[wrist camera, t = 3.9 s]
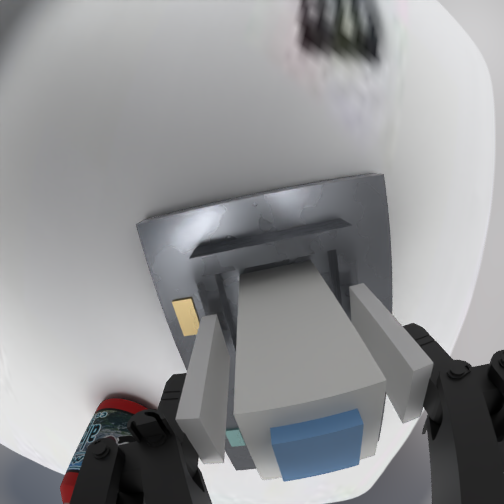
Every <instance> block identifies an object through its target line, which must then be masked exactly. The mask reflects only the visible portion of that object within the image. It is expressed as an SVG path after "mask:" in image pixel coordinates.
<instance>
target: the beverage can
mask: <svg viewBox="0 0 504 504" xmlns="http://www.w3.org/2000/svg"><path fill="white" fill-rule="evenodd" d="M146 409H148V408H146V407H144V406H142V405H140V404H138V403H136V402H133V401H129V400H125V399H118V398H112V399H107V400H105V401H103V402H102V403H100V405H99V407H98V408H97V410H96V412H95V414H94V416H93V418H92V420H91V422H90V423H89V425H88V427H87V429H86V431H85V433H84V435H83V437H82V439H81V441H80V443H79V446H78V448H77V450H76V452H75V454H74V456H73V458H72V460H71V463H70V465H69V467H68V469H67V472H66V474H65V476H64V479H63V481H62V483H61V486H60V491H61V496H62V501H63V504H69V503H70V500H71V496H72V493H73V490H74V486H75V483H76V480H77V477H78V474H79V471H80V467H81V464H82V461H83V459H84V456H85V453H86V450H87V448H88V446H89V445H90V444H91V443H92V442H93V441H95V440H97V439H99V438H110V439H112V440H114V441H115V442H116V443H117V444H118V445H122V444H126V443H131V442H135V441H136V440H135V438H134V437H133V436H132V434H131V433H130V432H129V430H128V429H127V423H128V421H129V420H130V418H131V417H132V416H133V415H135V414H136V413H137V412H140V411H142V410H146Z"/></svg>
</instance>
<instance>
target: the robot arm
mask: <svg viewBox="0 0 504 504" xmlns="http://www.w3.org/2000/svg"><path fill="white" fill-rule="evenodd" d="M349 291H350V306H351V323H352V324H353V326H354V327H355V329H356V331H357V332H358V334H359V335H360V337H361V339H362V340H363V342H364V343H365V345H366V347H367V348H368V350H369V352H370V353H371V355H372V357H373V358H374V360H375V362H376V363H377V365H378V367H379V368H380V370H381V372H382V373H383V375H384V377H385V378H386V390H385V392H386V394H387V395H388V397H389V399H390V401H391V403H392V405H393V406H394V408H395V410H396V412H397V414H398V416H399V418H400V419H401V421H402V423H406V422H408V421H411V420H413V419H415V418H418V417H420V416H421V413H422V410H423V407H424V408H425V410H426V411H427V413H428V415H427V419H426V422H425V425H424V428H423V432H422V434H425V432H426V430H427V432H428V441H429V452H430V463H431V482H432V504H504V350H501V351H498V352H496V353H495V354H494V355H493V357H492V359H491V361H490V364H485V365H481V366H476V367H472V366H471V365H470V364H468V363H467V362H466V361H461V360H453V359H452V358H451V357H450V356H449V355H448V354H447V353H446V352H445V350H444V349H443V348H442V347H441V346H440V345H439V344H438V343H437V342H436V341H434V339H433V338H432V337H431V336H430V335H429V333H428V332H427V331H426V330H425V329H424V328H423V327H421V326H419V325H416V324H414V323H411V324H408V325H405V326H402V325H401V324H400V323H399V322H398V321H397V319H396V318H395V317H394V316H393V315H392V314H391V313H390V312H389V310H388V309H387V308H386V307H385V306H384V305H383V304H382V303H381V302H380V300H379V299H378V298H377V297H376V296H375V295H374V294H373V293H372V292H371V291H370V290H369V289H368V287H367V286H366V285H365V284H364V283H362V284H358V285H354V286H349ZM229 371H230V356H229V352H228V349H227V346H226V343H225V340H224V336H223V333H222V330H221V327H220V323H219V320H218V317H217V314H214V315H208V316H202V317H201V321H200V325H199V328H198V332H197V336H196V339H195V343H194V347H193V351H192V355H191V359H190V362H189V366H188V370H187V373H184V374H173V375H172V376H171V378H170V379H169V380H168V381H167V382H166V385H165V388H164V391H163V394H162V397H161V401H160V403H159V407H158V410H155V409H146V410H142V411H140V412H137V413H136V414H135V415H133V416H132V417H131V418H130V420H129V421H128V423H127V429H128V430H129V432H130V433H131V434H132V436H133V437H134V438H135V440H136V441H135V442H131V443H126V444H122V445H118V444H117V443H116V442H115V441H114V440H112V439H110V438H99V439H97V440H95V441H93V442H92V443H91V444H90V445H89V446H88V448H87V450H86V453H85V456H84V459H83V461H82V464H81V467H80V471H79V474H78V477H77V480H76V483H75V486H74V490H73V493H72V496H71V500H70V503H69V504H212V502H211V500H210V497H209V494H208V491H207V488H206V485H205V482H204V479H203V476H202V473H201V471H200V469H199V468H198V458H200V459H201V461H202V462H203V464H214V463H224V453H225V435H226V418H227V402H228V386H229Z"/></svg>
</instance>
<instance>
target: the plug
mask: <svg viewBox="0 0 504 504" xmlns="http://www.w3.org/2000/svg"><path fill="white" fill-rule="evenodd" d="M385 390H386V378H385V377H384V375H383V373H382V372H381V370H380V368H379V367H378V365H377V363H376V362H375V360H374V358H373V357H372V355H371V353H370V352H369V350H368V348H367V347H366V345H365V343H364V342H363V340H362V339H361V337H360V335H359V334H358V332H357V331H356V329H355V327H354V326H353V324H352V323H351V321H350V319H349V318H348V316H347V315H346V313H345V311H344V310H343V308H342V307H341V305H340V304H339V302H338V301H337V299H336V297H335V296H334V294H333V293H332V291H331V290H330V288H329V287H328V285H327V284H326V282H325V281H324V279H323V278H322V276H321V275H320V273H319V271H318V270H317V268H316V267H315V265H314V264H313V262H312V261H311V260H308V261H303V262H298V263H293V264H289V265H284V266H279V267H274V268H269V269H264V270H259V271H254V272H249V273H244V274H240V277H239V297H238V318H237V340H236V364H235V388H234V417H235V419H236V422H237V424H238V427H239V429H240V431H241V434H242V436H243V439H244V441H245V443H246V446H247V448H248V450H249V452H250V455H251V457H252V459H253V461H254V464H255V466H256V468H257V470H258V472H259V475H260V477H261V479H262V480H267V479H275V478H283V481H290V480H296V479H301V478H307V477H312V476H316V475H321V474H325V473H330V472H334V471H338V470H341V469H345V468H349V467H352V466H356V465H359V461H360V460H361V459H364V458H368V457H371V456H374V455H375V453H376V448H377V442H378V437H379V431H380V426H381V419H382V413H383V406H384V398H385Z"/></svg>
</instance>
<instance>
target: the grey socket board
mask: <svg viewBox="0 0 504 504" xmlns="http://www.w3.org/2000/svg"><path fill="white" fill-rule="evenodd" d="M136 226H137V230H138V234H139V237H140V241H141V244H142V247H143V251H144V254H145V257H146V261H147V264H148V267H149V270H150V273H151V276H152V279H153V282H154V285H155V288H156V291H157V294H158V297H159V300H160V303H161V306H162V309H163V311H164V314H165V317H166V320H167V322H168V325H169V328H170V330H171V333H172V335H173V338H174V340H175V343H176V346H177V348H178V351H179V353H180V355H181V358H182V360H183V363H184V365H185V367H186V370H188V366H189V362H190V359H191V355H192V351H193V347H194V343H195V339H196V336H197V332H198V328H199V325H200V321H201V317H202V316H208V315H214V314H217V317H218V320H219V323H220V327H221V330H222V333H223V336H224V340H225V343H226V346H227V349H228V352H229V356H230V371H229V386H228V402H227V418H226V435H225V451H226V453H227V455H228V457H229V458H230V460H231V462H232V464H233V466H234V467H235V469H236V470H246V469H255V468H256V466H255V464H254V461H253V459H252V457H251V455H250V452H249V450H248V448H247V446H246V443H245V441H244V439H243V436H242V434H241V431H240V429H239V427H238V424H237V422H236V419H235V417H234V388H235V364H236V340H237V318H238V297H239V277H240V274H244V273H249V272H254V271H259V270H264V269H269V268H274V267H279V266H284V265H289V264H293V263H298V262H303V261H308V260H311V261H312V262H313V264H314V265H315V267H316V268H317V270H318V271H319V273H320V275H321V276H322V278H323V279H324V281H325V282H326V284H327V285H328V287H329V288H330V290H331V291H332V293H333V294H334V296H335V297H336V299H337V301H338V302H339V304H340V305H341V307H342V308H343V310H344V311H345V313H346V315H347V316H348V318H349V319H350V321H351V306H350V291H349V286H354V285H358V284H362V283H364V284H365V285H366V286H367V287H368V289H369V290H370V291H371V292H372V293H373V294H374V295H375V296H376V297H377V298H378V299H379V300H380V302H381V303H382V304H383V305H384V306H385V307H386V308H387V309H388V310H389V312H390V313H391V314H392V260H391V241H390V227H389V215H388V205H387V196H386V188H385V180H384V174H376V173H371V174H364V175H358V176H351V177H345V178H338V179H332V180H326V181H320V182H314V183H309V184H303V185H297V186H292V187H287V188H281V189H276V190H271V191H266V192H261V193H256V194H251V195H246V196H242V197H237V198H232V199H228V200H223V201H219V202H214V203H210V204H205V205H201V206H197V207H193V208H188V209H184V210H180V211H176V212H172V213H168V214H164V215H160V216H156V217H152V218H148V219H145V220H143V221H141V222H139V223H138V224H136ZM385 399H386V392H385V398H384V406H385ZM384 406H383V413H384ZM383 413H382V419H381V426H382V420H383ZM381 426H380V431H381ZM380 431H379V437H380ZM379 437H378V441H379Z"/></svg>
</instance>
